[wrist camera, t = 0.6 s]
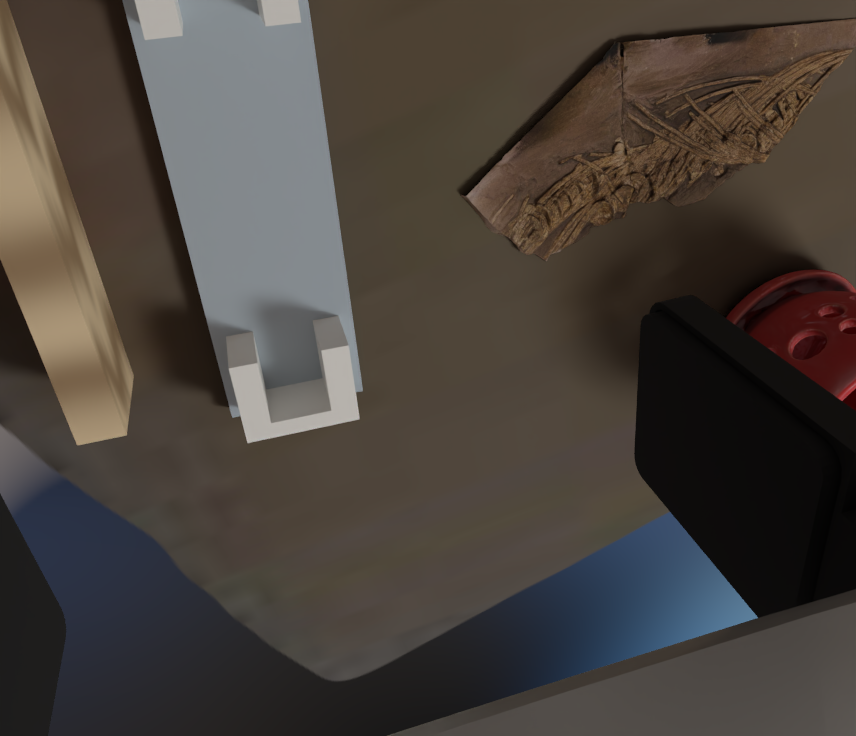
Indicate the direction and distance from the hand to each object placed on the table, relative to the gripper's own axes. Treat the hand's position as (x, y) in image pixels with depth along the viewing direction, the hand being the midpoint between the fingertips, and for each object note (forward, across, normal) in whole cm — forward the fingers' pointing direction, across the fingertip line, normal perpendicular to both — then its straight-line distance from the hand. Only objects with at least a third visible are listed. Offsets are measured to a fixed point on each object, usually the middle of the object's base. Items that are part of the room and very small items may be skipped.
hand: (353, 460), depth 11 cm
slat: (+31, +10, +4) cm, 33 cm away
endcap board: (+31, 0, +5) cm, 31 cm away
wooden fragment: (+31, -24, +5) cm, 40 cm away
